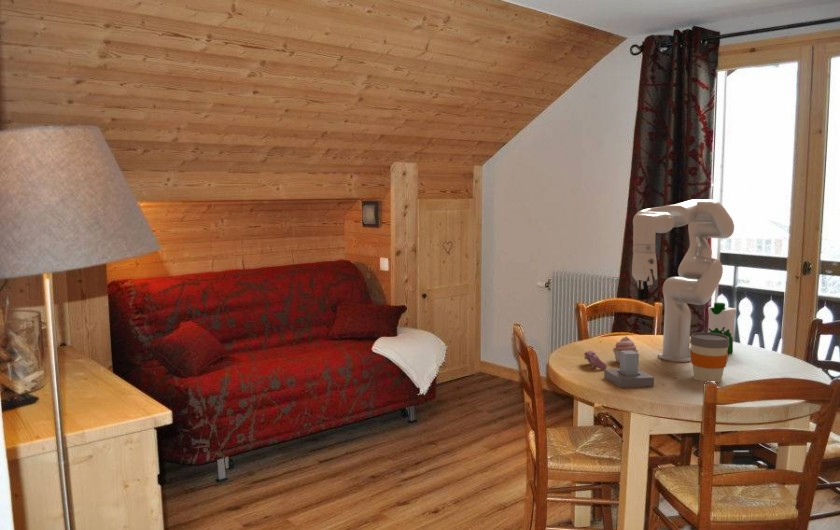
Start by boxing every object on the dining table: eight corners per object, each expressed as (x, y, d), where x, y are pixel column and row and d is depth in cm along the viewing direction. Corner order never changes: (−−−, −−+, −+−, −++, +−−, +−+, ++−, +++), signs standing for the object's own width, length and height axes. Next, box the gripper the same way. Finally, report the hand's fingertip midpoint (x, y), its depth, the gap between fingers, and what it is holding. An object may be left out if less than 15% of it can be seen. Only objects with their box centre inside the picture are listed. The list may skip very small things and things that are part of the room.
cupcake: (624, 366, 251) (625, 340, 250) (606, 360, 260) (607, 335, 258) (643, 363, 256) (644, 337, 254) (625, 358, 264) (626, 332, 263)
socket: (636, 376, 239) (636, 367, 239) (653, 386, 227) (654, 377, 227) (604, 377, 237) (604, 369, 237) (620, 387, 225) (620, 379, 225)
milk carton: (703, 351, 275) (705, 302, 272) (716, 348, 280) (719, 300, 277) (723, 355, 267) (726, 305, 265) (736, 352, 272) (739, 303, 270)
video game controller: (587, 367, 256) (580, 351, 255) (598, 361, 256) (590, 345, 255) (597, 374, 246) (589, 358, 245) (608, 368, 247) (600, 352, 246)
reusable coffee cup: (708, 385, 228) (710, 341, 226) (680, 375, 240) (682, 334, 238) (735, 381, 233) (738, 338, 231) (706, 372, 245) (709, 331, 243)
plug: (631, 378, 235) (632, 350, 234) (637, 382, 230) (638, 353, 229) (619, 379, 234) (620, 350, 233) (625, 383, 230) (626, 354, 228)
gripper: (665, 250, 236) (663, 302, 238) (642, 245, 250) (641, 294, 253) (645, 251, 234) (644, 304, 237) (624, 246, 249) (623, 296, 252)
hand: (643, 299), depth 245 cm, fingers closed
